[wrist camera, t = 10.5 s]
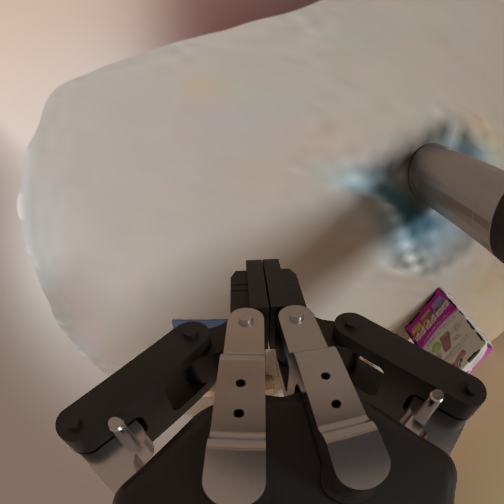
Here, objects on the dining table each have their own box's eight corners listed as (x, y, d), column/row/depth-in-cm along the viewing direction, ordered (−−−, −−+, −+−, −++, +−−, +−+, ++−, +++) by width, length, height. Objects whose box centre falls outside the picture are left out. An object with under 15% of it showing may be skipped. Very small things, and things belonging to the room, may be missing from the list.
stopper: (271, 375, 55) (274, 389, 51) (271, 381, 55) (273, 394, 52) (170, 376, 53) (168, 390, 50) (172, 382, 54) (170, 396, 51)
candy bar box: (417, 333, 53) (452, 391, 39) (404, 328, 52) (440, 390, 37) (450, 293, 49) (495, 347, 34) (439, 285, 47) (486, 343, 33)
